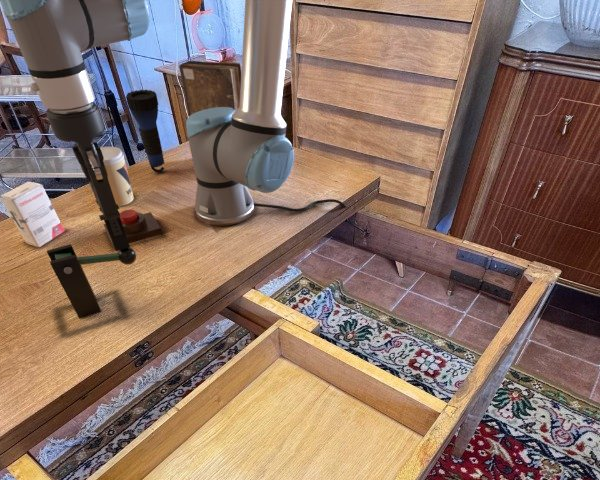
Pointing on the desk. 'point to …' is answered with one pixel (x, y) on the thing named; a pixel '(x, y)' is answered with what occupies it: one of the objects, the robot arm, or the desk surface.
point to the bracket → (74, 281)
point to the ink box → (32, 213)
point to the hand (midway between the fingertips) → (122, 247)
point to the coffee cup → (117, 175)
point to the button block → (140, 228)
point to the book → (211, 85)
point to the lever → (105, 257)
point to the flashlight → (147, 124)
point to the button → (128, 216)
